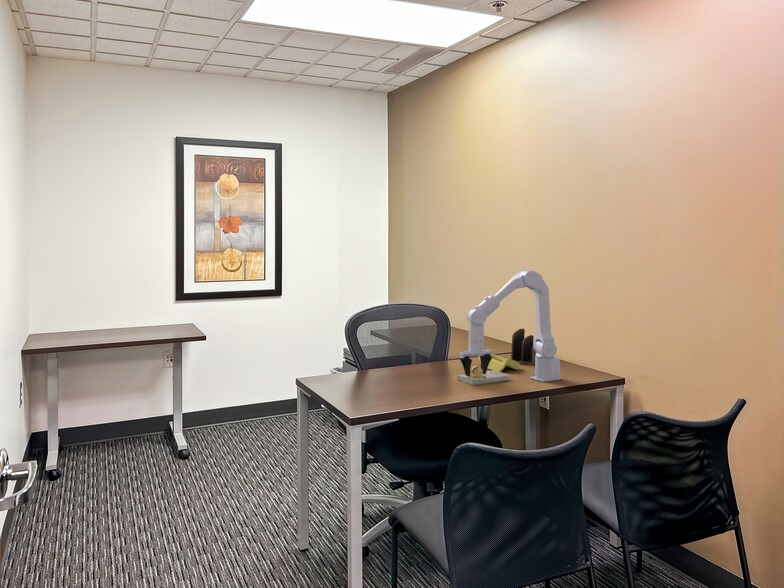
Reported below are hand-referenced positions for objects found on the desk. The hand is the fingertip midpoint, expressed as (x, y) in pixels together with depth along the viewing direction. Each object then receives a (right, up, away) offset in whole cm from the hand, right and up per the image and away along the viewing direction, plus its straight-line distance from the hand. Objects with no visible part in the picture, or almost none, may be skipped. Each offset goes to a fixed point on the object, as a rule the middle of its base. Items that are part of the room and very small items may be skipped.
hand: (475, 374), depth 241 cm
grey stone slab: (+4, -2, +2) cm, 5 cm away
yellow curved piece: (+13, -1, +27) cm, 30 cm away
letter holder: (+30, +1, +43) cm, 52 cm away
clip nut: (0, -1, 0) cm, 1 cm away
